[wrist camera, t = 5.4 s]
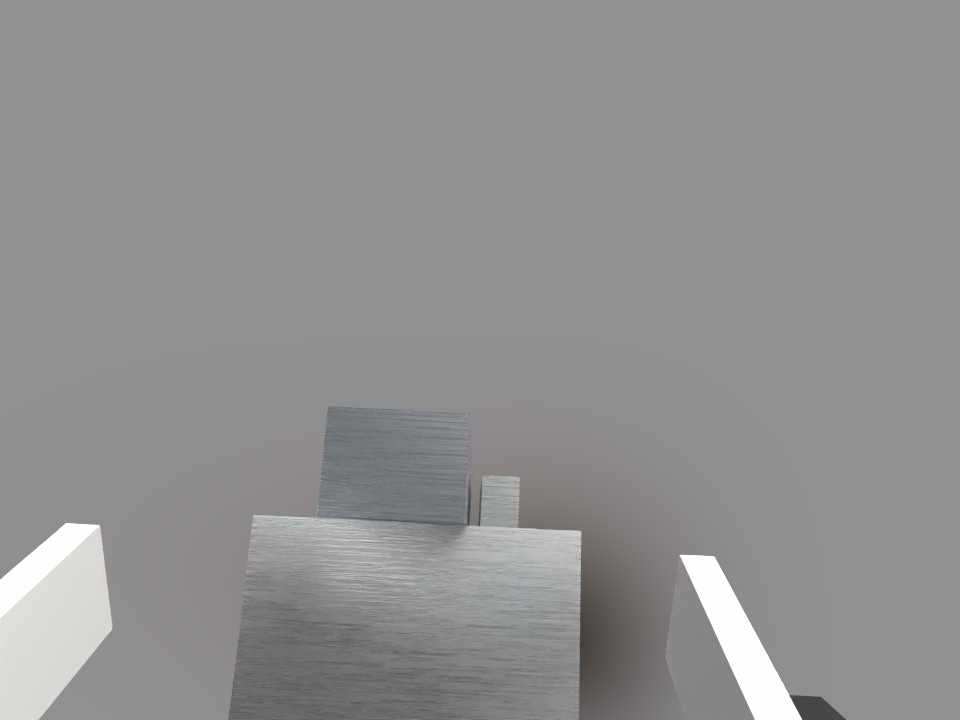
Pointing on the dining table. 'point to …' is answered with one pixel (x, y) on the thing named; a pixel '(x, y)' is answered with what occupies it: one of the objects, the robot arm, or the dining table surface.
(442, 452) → the bar
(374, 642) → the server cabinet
